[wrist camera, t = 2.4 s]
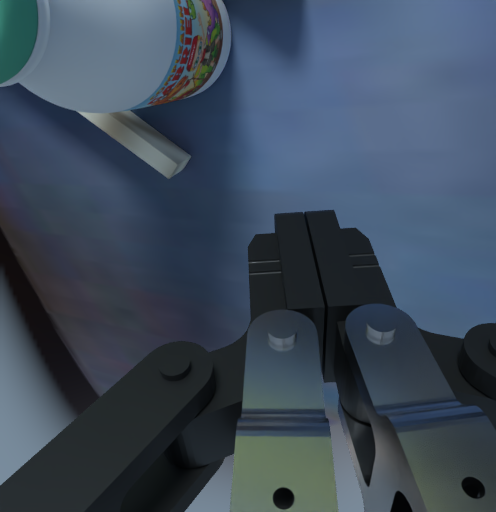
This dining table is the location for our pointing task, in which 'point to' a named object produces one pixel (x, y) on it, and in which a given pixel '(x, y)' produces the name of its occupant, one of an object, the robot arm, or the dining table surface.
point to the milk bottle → (113, 50)
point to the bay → (142, 140)
